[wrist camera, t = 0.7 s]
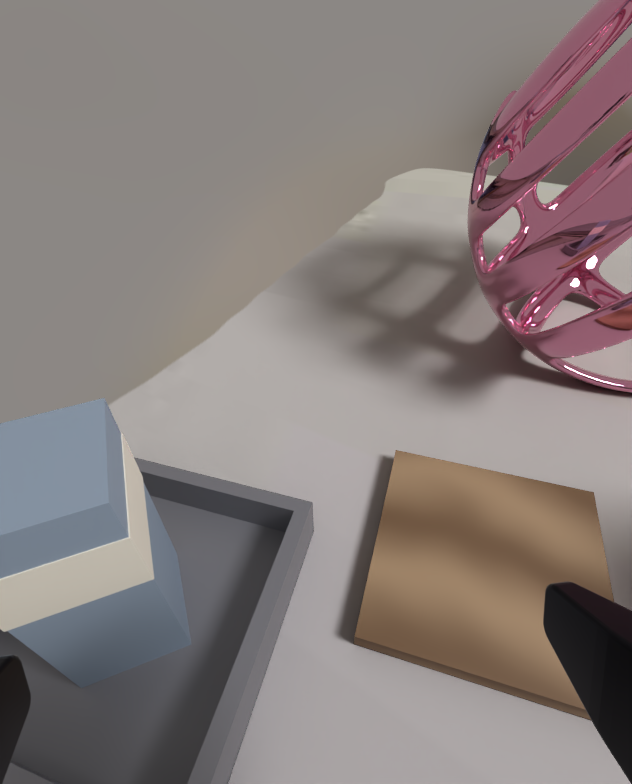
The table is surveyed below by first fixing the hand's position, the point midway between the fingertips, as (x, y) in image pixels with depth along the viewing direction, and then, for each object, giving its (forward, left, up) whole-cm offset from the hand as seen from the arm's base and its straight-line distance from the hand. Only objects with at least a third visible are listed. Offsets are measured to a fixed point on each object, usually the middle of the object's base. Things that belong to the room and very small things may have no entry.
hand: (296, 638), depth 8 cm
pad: (+11, -6, -16) cm, 20 cm away
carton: (+3, +11, -15) cm, 19 cm away
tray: (+3, +11, -16) cm, 19 cm away
